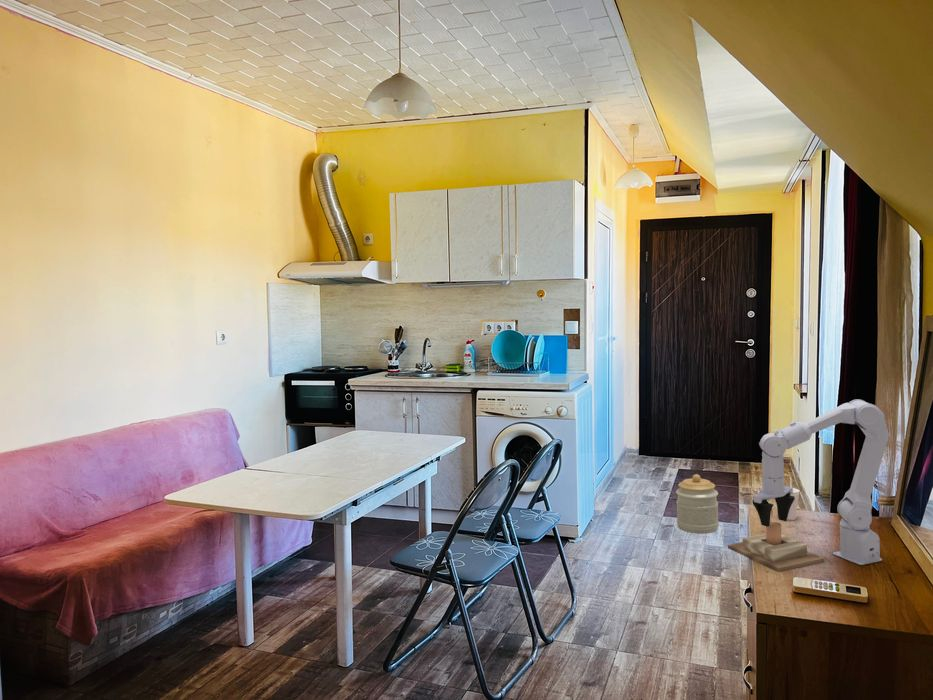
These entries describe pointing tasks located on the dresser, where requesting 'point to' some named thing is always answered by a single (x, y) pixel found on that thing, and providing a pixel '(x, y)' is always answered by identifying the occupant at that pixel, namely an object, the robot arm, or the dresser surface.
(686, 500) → the jar
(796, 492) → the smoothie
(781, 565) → the socket
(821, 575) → the dresser surface
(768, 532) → the peg
